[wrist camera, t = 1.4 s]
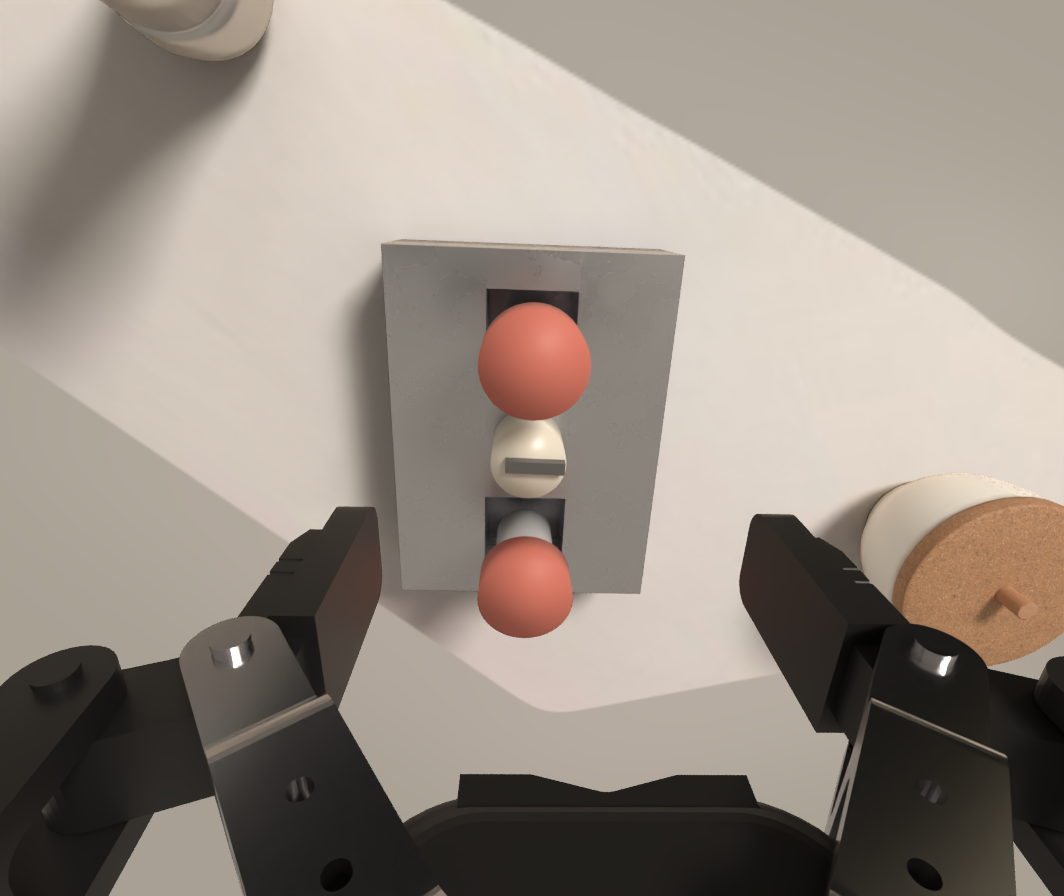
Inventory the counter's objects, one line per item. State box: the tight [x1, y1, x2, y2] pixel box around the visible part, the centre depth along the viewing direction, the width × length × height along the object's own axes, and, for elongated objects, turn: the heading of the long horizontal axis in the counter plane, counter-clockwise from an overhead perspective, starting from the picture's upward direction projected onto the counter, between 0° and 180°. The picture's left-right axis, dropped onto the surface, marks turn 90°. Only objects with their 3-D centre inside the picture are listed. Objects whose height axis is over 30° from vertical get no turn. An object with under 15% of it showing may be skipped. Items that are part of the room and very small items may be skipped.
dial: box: [491, 415, 566, 498], centre depth 28 cm, size 4×4×4 cm
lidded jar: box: [860, 473, 1064, 666], centre depth 34 cm, size 11×11×9 cm
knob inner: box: [478, 302, 591, 421], centre depth 25 cm, size 4×4×6 cm
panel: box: [381, 240, 685, 594], centre depth 32 cm, size 14×19×5 cm
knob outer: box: [478, 509, 573, 638], centre depth 29 cm, size 4×4×6 cm
